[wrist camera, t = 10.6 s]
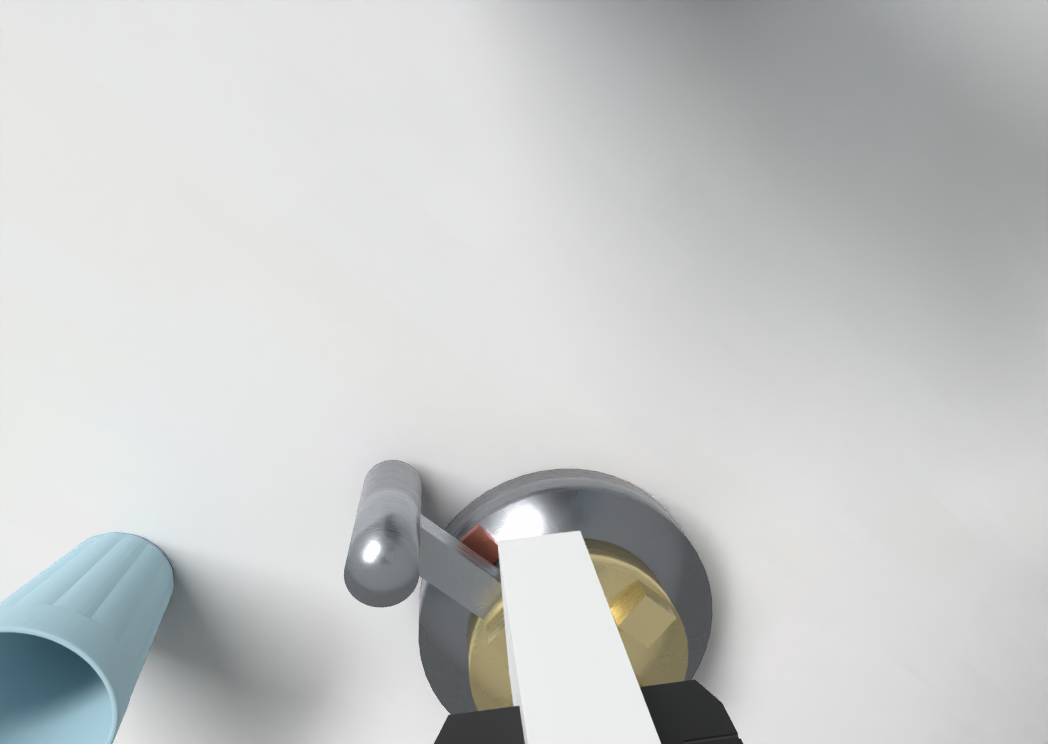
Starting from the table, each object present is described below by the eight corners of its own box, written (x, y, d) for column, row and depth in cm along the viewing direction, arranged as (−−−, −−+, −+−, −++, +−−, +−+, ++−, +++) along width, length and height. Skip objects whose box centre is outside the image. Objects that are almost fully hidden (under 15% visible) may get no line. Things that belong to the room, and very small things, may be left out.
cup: (214, 534, 39) (138, 655, 29) (177, 656, 41) (92, 811, 31) (63, 494, 38) (-72, 607, 28) (30, 622, 39) (-109, 773, 29)
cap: (505, 420, 40) (512, 441, 36) (744, 539, 43) (769, 568, 40) (370, 659, 42) (364, 699, 39) (606, 753, 46) (619, 797, 42)
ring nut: (695, 590, 42) (763, 693, 34) (570, 724, 44) (605, 858, 35) (436, 390, 38) (438, 451, 29) (304, 547, 39) (268, 651, 30)
